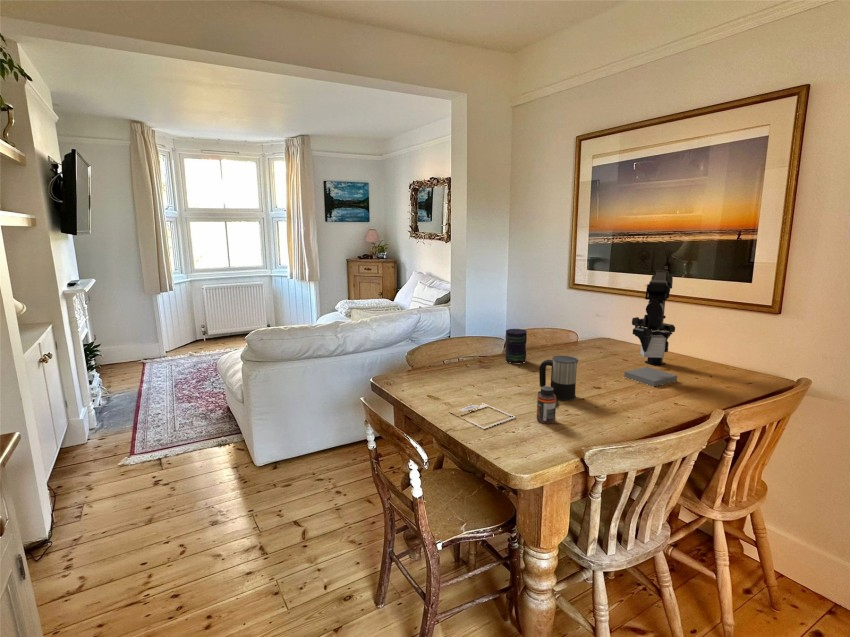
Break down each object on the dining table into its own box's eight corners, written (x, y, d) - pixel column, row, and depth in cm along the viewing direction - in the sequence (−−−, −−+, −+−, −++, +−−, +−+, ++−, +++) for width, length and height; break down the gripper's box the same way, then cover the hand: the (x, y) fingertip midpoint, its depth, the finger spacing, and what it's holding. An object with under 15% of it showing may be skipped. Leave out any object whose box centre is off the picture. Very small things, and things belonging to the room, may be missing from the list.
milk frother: (575, 393, 174) (576, 355, 171) (579, 408, 158) (581, 368, 156) (536, 390, 177) (538, 354, 174) (537, 406, 162) (539, 366, 159)
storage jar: (510, 357, 223) (511, 327, 220) (529, 360, 217) (530, 330, 214) (501, 362, 215) (502, 331, 212) (520, 365, 209) (521, 334, 206)
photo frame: (478, 400, 165) (516, 416, 151) (478, 403, 166) (515, 419, 151) (447, 410, 157) (484, 427, 143) (447, 413, 157) (484, 431, 143)
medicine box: (660, 355, 188) (662, 334, 186) (664, 358, 183) (666, 337, 182) (640, 354, 189) (641, 334, 187) (643, 357, 185) (645, 336, 183)
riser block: (646, 373, 197) (647, 366, 197) (676, 382, 185) (677, 375, 184) (624, 378, 191) (624, 371, 191) (653, 388, 179) (654, 381, 178)
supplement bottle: (533, 417, 152) (535, 385, 150) (551, 416, 152) (552, 384, 150) (539, 424, 146) (541, 391, 144) (557, 424, 146) (559, 390, 144)
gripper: (653, 307, 194) (650, 343, 197) (622, 311, 186) (620, 348, 189) (677, 311, 184) (674, 349, 187) (646, 316, 176) (643, 355, 179)
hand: (652, 350), depth 186 cm, fingers closed on medicine box, 9 cm apart
